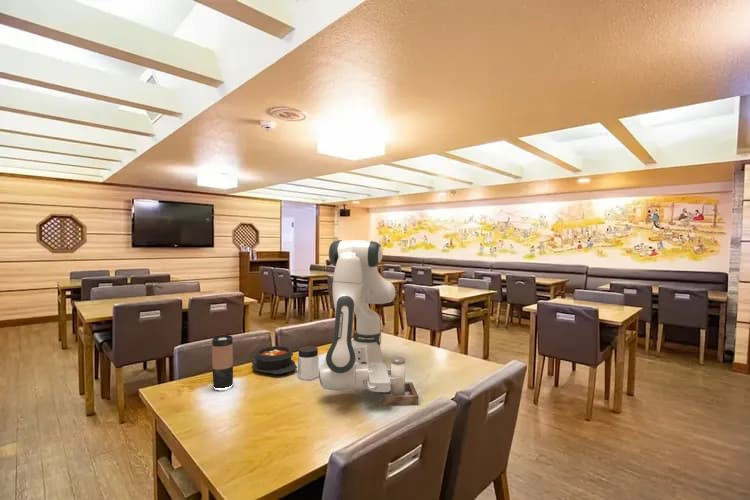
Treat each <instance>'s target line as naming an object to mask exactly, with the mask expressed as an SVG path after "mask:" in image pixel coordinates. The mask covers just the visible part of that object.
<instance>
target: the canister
mask: <svg viewBox="0 0 750 500" xmlns="http://www.w3.org/2000/svg"><path fill="white" fill-rule="evenodd" d="M390 362H391V363H390V366H391V367H390V369H391V375H390V377H392V378H395V377H397V376H398V377H401V378H402V382H401V383H395V384H393V385H391V392H390V395H406V392H405V382H406V358H405V357H403V356H393V357H391V358H390Z"/></svg>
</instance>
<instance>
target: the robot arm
mask: <svg viewBox="0 0 750 500" xmlns="http://www.w3.org/2000/svg"><path fill="white" fill-rule="evenodd" d="M383 254H384V253H383V248H382V245H381V244H380V243H379V242H377V241H373V240H370V241H368V240H365V239H353V240H352V239H351V240H350V239H346V240H345V239H344V240H341V239H339V240H338V239H337V240H334V241H332V242H331V244H330V246H329V249H328V258H329V261H330V262H331V264H332V265H333V266H334V272H333V277H332V300H333V305H334V306H333V307H334V313H335V321H334V329H333V330H334V331H333V339H332V342H331V345H330V347H329V348H328V350H327V351H326V355H325V359H324V360H323V363H322V365H321V366H319V377H318V378H319V384H320V386H321V388H323V389H324V390H329V391H346V390H354V391H363V390H364V391H365V390H366V391H367V390H369V391H371V392H372V393H373V392H374V393H390V392H389V391H391V385H393V384H395V383H401V382H402V378H401V377H398V376H397V377H395V378H392V377H391V368H387V364H386V363H385V362H384V358H383V355H382V347H381V346H382V345H381V344H382V332H381V317H380V314H378V313H377V312H376V310H373V309H371V308H370V306H369V304H370V305H371V304H374V305H376V304H377V305H385V304H390V303H392V302H393V300H394V299H395V298H396V293H397V292H396V288H395V286H394V284H393V283H392V282H391V281H389V280H386V279H385V277H383V276H382V275H381V274H380V273H379V270H378V266H380V264H381V262H382V259H383ZM368 306H369V307H368ZM354 315H355V318H356V330H355V331H354V332H353V324H354V323H353V322H354ZM352 338H353V339H352Z"/></svg>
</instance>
